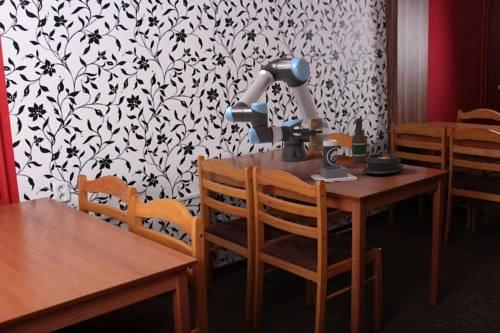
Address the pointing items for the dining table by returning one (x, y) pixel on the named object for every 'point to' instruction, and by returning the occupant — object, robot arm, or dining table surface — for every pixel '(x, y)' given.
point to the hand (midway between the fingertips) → (326, 130)
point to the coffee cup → (330, 153)
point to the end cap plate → (333, 174)
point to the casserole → (383, 164)
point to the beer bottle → (358, 144)
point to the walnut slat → (317, 141)
